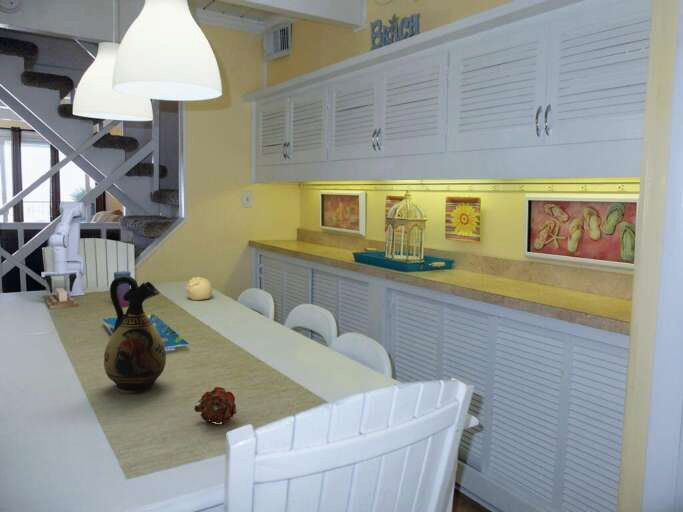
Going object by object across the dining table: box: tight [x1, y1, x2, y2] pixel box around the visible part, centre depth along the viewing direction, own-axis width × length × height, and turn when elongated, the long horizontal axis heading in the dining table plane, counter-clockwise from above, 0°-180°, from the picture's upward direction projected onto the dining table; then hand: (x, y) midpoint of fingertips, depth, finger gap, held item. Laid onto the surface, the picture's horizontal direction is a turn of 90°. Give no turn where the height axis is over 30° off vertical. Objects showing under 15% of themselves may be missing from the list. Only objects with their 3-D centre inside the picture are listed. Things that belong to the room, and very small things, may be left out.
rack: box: [44, 294, 79, 310], centre depth 241 cm, size 18×11×2 cm, turn 34°
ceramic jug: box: [103, 275, 167, 395], centre depth 143 cm, size 17×15×30 cm
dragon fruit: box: [194, 386, 237, 424], centre depth 126 cm, size 8×8×12 cm
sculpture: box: [185, 276, 213, 301], centre depth 257 cm, size 11×12×11 cm
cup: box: [113, 270, 131, 308], centre depth 238 cm, size 7×7×15 cm
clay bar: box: [54, 287, 67, 302], centre depth 241 cm, size 12×3×5 cm, turn 34°
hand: (61, 291), depth 241 cm, fingers open, 7 cm apart
